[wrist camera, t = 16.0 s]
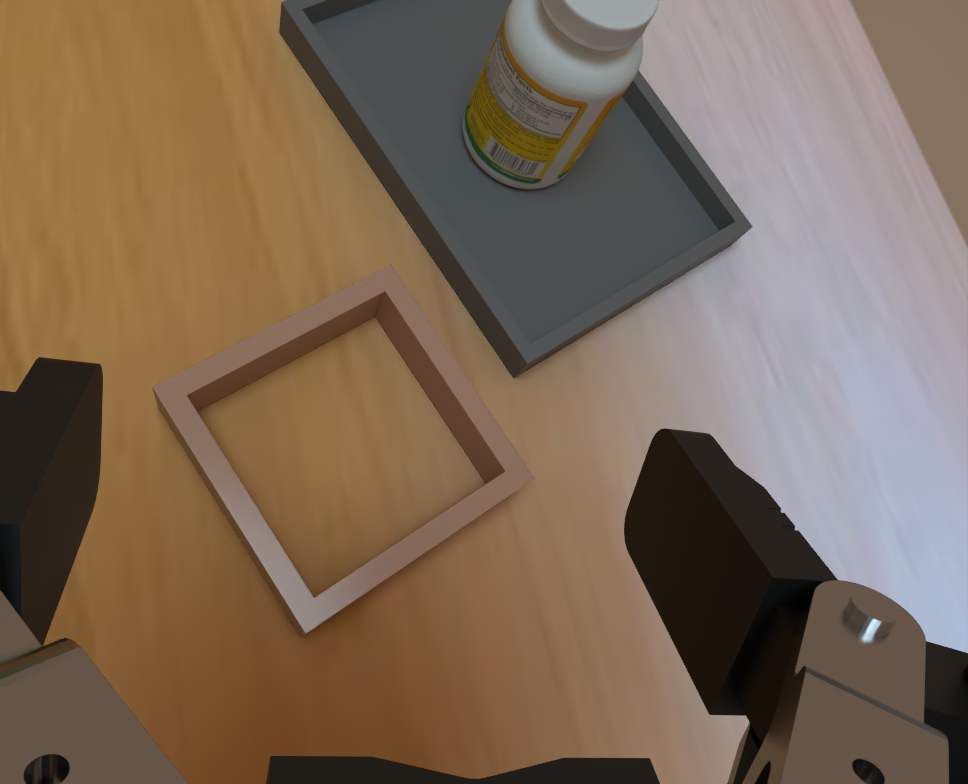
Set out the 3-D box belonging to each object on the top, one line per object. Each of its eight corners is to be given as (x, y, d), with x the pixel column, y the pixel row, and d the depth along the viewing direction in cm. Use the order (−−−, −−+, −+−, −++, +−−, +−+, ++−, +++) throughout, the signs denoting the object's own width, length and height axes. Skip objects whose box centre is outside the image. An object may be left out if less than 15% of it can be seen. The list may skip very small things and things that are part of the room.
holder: (158, 407, 31) (152, 386, 29) (381, 291, 35) (391, 264, 32) (300, 636, 30) (305, 633, 28) (514, 491, 34) (534, 478, 31)
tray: (279, 32, 37) (281, 2, 35) (514, -55, 42) (525, -84, 40) (514, 378, 35) (527, 363, 34) (731, 245, 40) (752, 226, 38)
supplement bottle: (484, 203, 37) (564, 55, 28) (442, 95, 38) (506, -80, 29) (594, 181, 38) (701, 35, 30) (551, 78, 39) (642, -91, 31)
